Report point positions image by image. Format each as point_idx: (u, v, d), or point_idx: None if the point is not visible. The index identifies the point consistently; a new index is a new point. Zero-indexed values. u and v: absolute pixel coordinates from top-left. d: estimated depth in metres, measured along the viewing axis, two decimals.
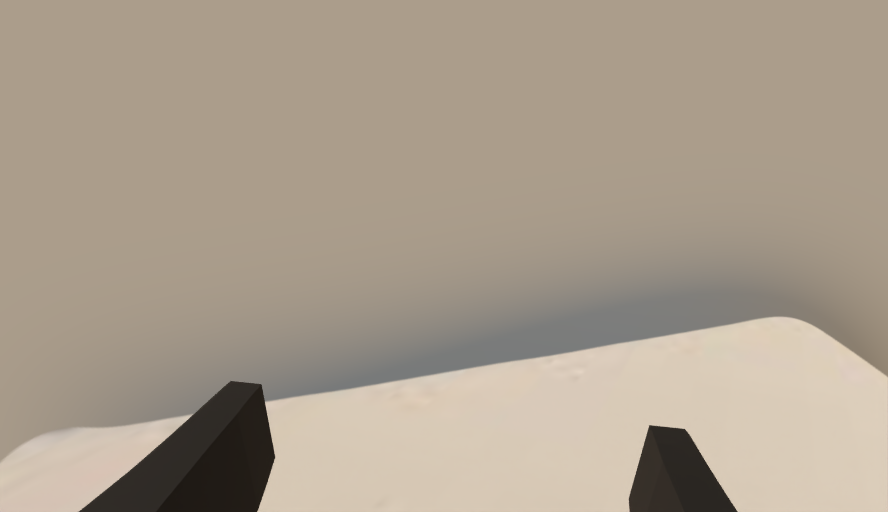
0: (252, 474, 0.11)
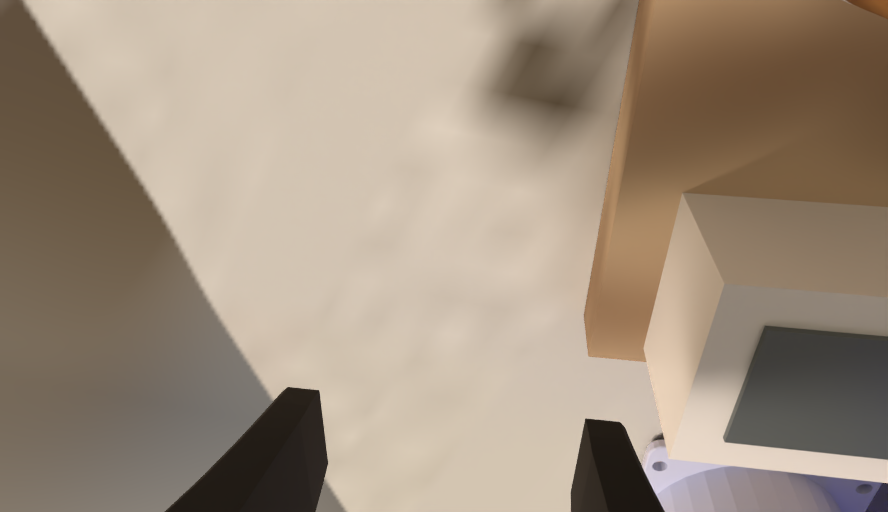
0: (310, 481, 0.11)
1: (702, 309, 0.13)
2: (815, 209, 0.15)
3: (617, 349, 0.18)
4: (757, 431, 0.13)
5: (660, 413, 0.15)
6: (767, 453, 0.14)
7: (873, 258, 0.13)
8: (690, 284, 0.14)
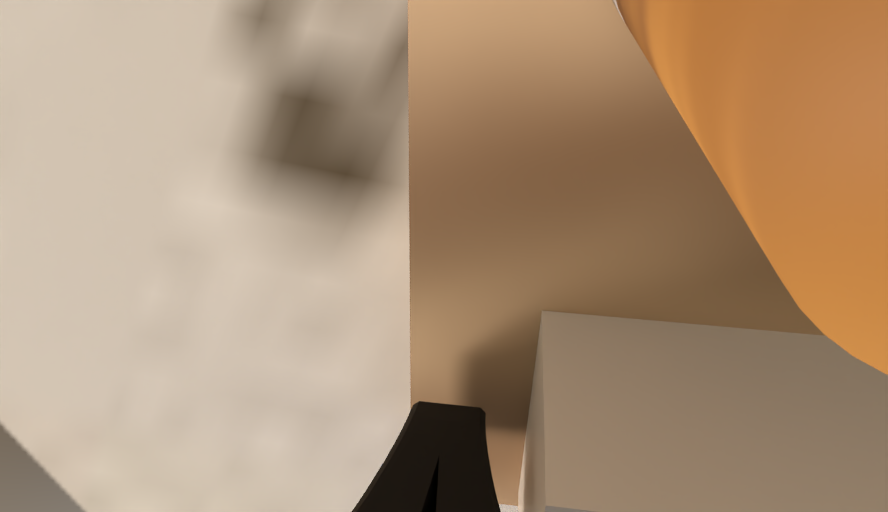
0: None
1: None
2: (721, 341, 0.10)
3: None
4: None
5: None
6: None
7: (788, 444, 0.08)
8: (535, 457, 0.10)
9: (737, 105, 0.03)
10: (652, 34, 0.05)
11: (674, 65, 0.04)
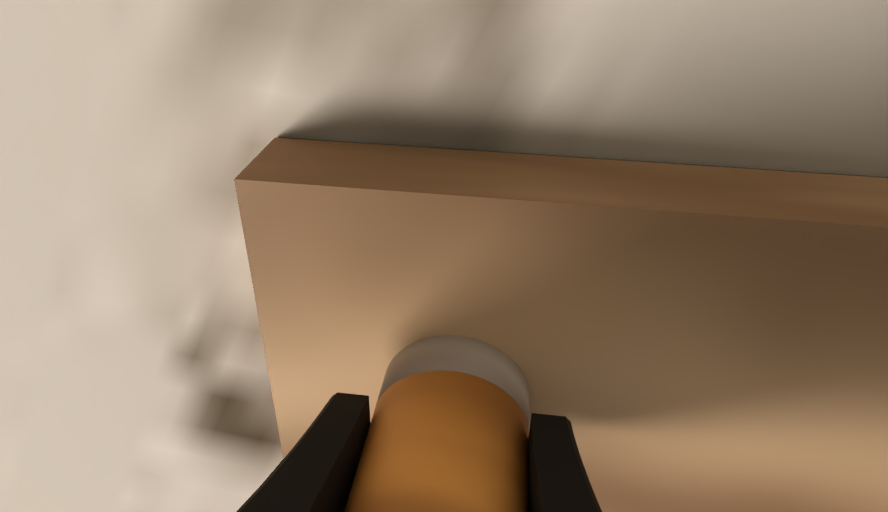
0: None
1: None
2: None
3: None
4: None
5: None
6: None
7: None
8: None
9: None
10: None
11: None
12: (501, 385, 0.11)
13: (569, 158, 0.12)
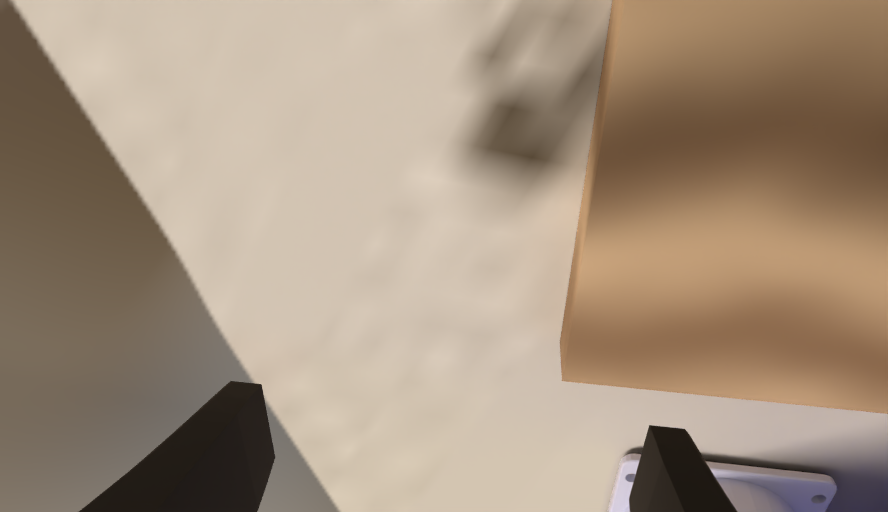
0: (252, 474, 0.11)
1: None
2: None
3: (587, 375, 0.20)
4: None
5: None
6: None
7: None
8: None
9: None
10: None
11: None
12: None
13: None
